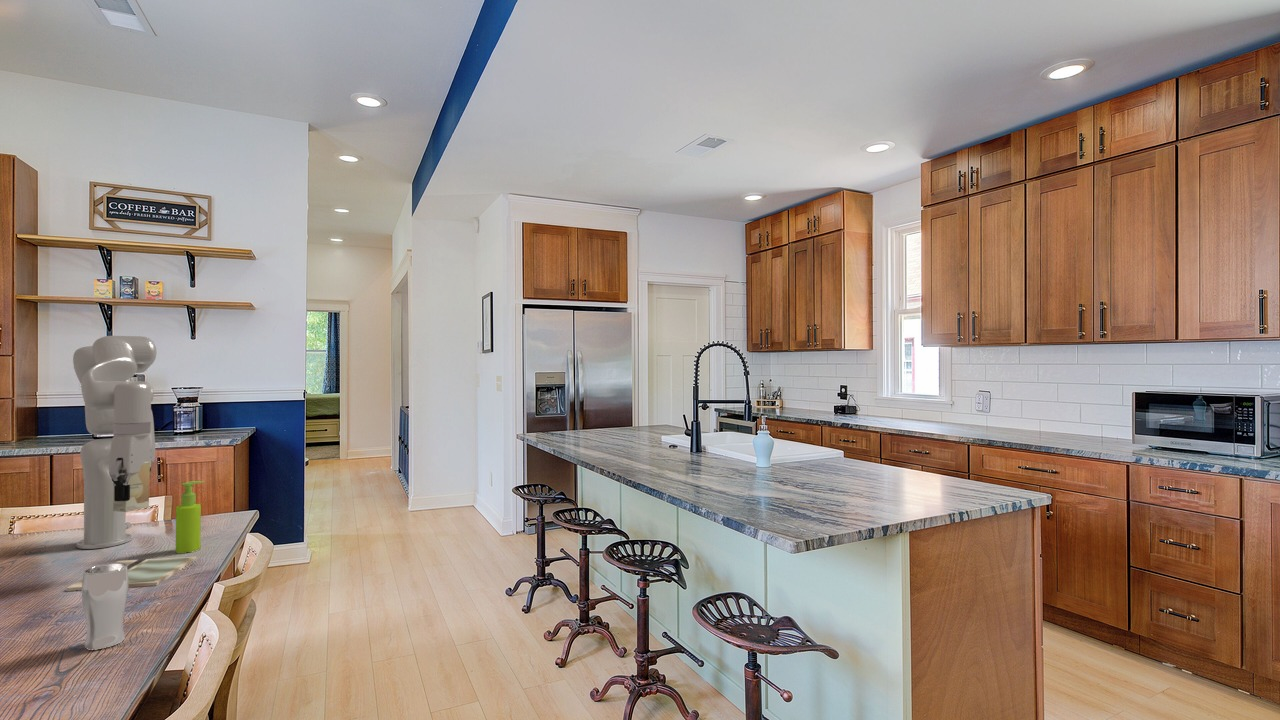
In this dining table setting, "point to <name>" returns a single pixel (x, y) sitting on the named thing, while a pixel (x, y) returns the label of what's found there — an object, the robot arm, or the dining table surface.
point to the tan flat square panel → (148, 571)
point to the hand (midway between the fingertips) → (131, 496)
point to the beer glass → (104, 604)
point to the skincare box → (136, 491)
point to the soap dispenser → (188, 521)
